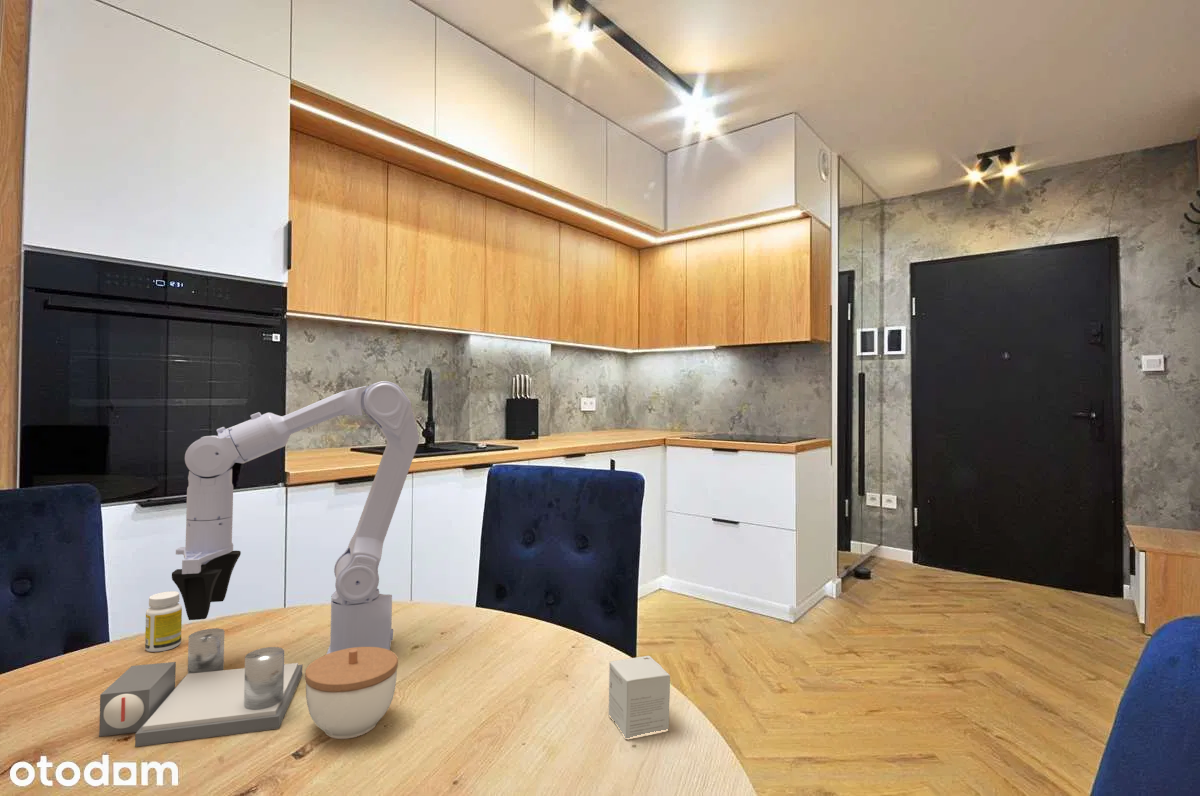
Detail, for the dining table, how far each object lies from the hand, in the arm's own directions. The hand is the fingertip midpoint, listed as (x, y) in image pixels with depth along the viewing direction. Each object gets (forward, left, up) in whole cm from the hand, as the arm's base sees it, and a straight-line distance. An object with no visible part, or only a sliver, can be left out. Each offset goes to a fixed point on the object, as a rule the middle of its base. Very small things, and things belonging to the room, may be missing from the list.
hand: (207, 609), depth 87 cm
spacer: (0, 0, -10) cm, 10 cm away
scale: (-3, +11, -9) cm, 15 cm away
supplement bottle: (+10, -13, -10) cm, 19 cm away
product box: (-57, +29, -10) cm, 65 cm away
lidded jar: (-22, +20, -10) cm, 31 cm away
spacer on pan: (-11, +15, -8) cm, 20 cm away
